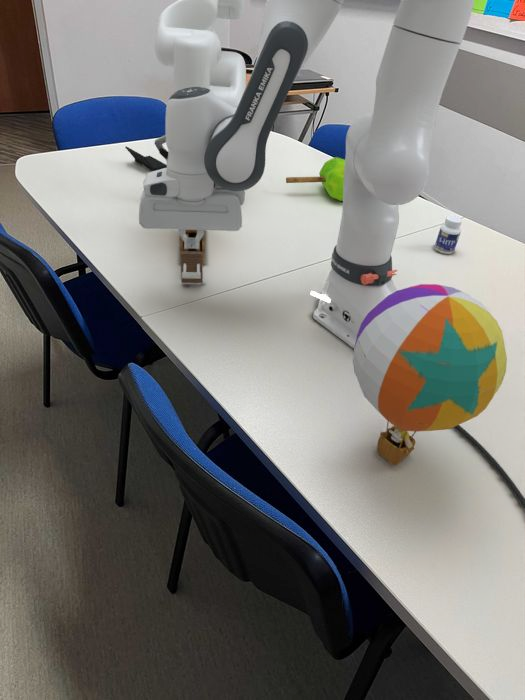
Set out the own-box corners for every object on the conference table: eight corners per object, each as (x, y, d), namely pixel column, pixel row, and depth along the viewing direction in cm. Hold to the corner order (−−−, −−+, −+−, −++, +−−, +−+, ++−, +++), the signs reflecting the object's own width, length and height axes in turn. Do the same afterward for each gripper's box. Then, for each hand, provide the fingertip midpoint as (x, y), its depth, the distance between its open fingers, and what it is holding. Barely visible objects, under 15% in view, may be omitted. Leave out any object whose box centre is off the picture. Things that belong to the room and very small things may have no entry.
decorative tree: (281, 153, 162) (372, 152, 168) (279, 186, 169) (366, 184, 174) (295, 173, 149) (392, 171, 154) (292, 208, 155) (386, 205, 161)
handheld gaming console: (172, 161, 172) (154, 139, 164) (161, 179, 171) (142, 158, 163) (149, 157, 179) (131, 136, 170) (138, 174, 177) (119, 153, 169)
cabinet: (205, 264, 125) (205, 230, 119) (180, 264, 124) (179, 229, 118) (204, 231, 138) (204, 199, 133) (182, 231, 138) (181, 198, 132)
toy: (305, 446, 82) (335, 284, 64) (382, 395, 93) (428, 243, 74) (404, 533, 71) (476, 369, 53) (479, 464, 82) (561, 307, 63)
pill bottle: (433, 251, 139) (442, 220, 133) (435, 243, 143) (444, 213, 137) (453, 256, 138) (464, 225, 132) (454, 247, 142) (465, 217, 136)
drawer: (202, 296, 113) (202, 266, 108) (180, 295, 112) (179, 265, 107) (202, 248, 129) (202, 220, 125) (183, 247, 129) (182, 220, 124)
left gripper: (230, 99, 118) (228, 173, 129) (153, 94, 116) (157, 170, 127) (232, 108, 112) (229, 185, 123) (150, 104, 110) (155, 182, 121)
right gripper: (244, 177, 102) (240, 241, 111) (138, 173, 100) (143, 239, 108) (246, 190, 97) (242, 256, 106) (135, 186, 95) (140, 253, 103)
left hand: (193, 177), depth 125 cm, fingers open, 9 cm apart
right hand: (191, 247), depth 107 cm, fingers closed
